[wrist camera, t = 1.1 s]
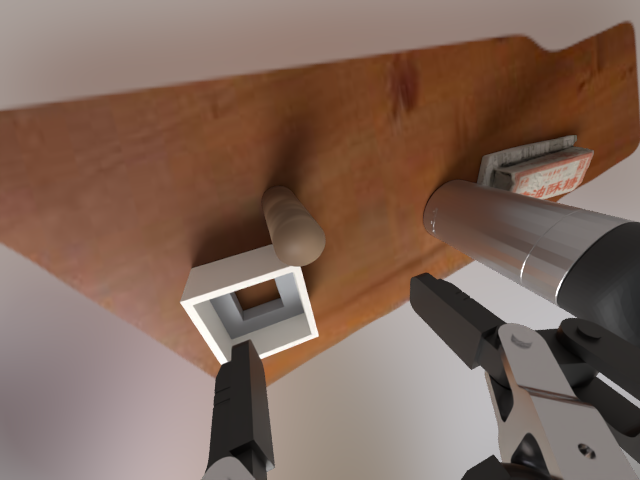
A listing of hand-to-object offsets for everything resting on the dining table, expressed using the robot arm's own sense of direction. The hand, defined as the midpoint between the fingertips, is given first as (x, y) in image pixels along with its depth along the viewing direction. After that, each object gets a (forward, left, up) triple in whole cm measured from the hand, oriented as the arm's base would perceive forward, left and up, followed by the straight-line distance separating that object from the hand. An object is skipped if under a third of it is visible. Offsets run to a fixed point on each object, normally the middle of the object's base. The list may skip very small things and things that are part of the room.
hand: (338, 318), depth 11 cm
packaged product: (-39, +6, -19) cm, 44 cm away
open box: (+6, +11, -19) cm, 22 cm away
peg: (0, 0, -19) cm, 19 cm away
